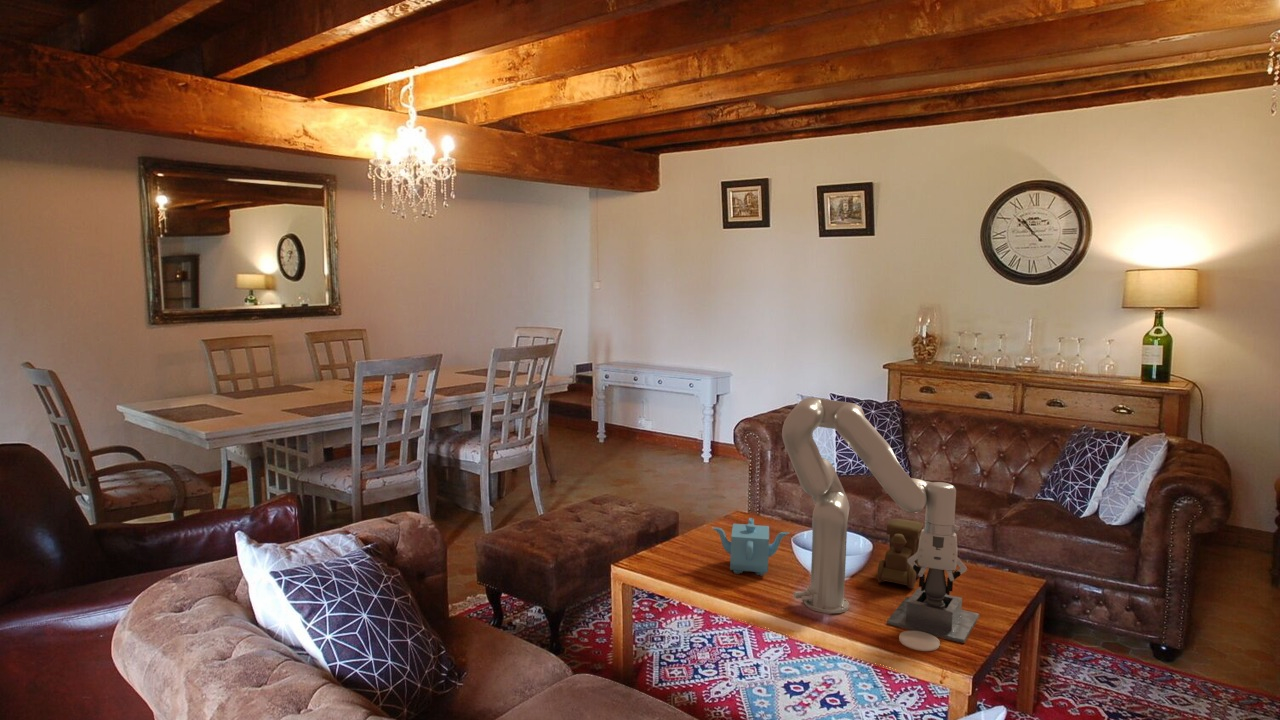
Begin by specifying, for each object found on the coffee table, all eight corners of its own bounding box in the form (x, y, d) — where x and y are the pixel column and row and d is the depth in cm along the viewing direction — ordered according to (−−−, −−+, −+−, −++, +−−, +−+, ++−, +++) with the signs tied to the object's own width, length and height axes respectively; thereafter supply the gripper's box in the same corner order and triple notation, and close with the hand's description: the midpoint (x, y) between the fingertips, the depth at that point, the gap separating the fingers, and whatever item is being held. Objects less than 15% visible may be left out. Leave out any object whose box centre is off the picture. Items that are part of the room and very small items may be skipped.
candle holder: (930, 626, 215) (936, 537, 212) (917, 616, 221) (922, 530, 218) (950, 624, 217) (955, 535, 214) (936, 614, 222) (941, 528, 220)
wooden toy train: (887, 565, 260) (890, 516, 259) (923, 572, 255) (926, 522, 253) (874, 586, 243) (877, 533, 241) (912, 593, 237) (915, 540, 236)
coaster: (910, 652, 200) (910, 649, 200) (892, 634, 209) (892, 631, 209) (947, 650, 201) (947, 647, 201) (927, 632, 211) (927, 629, 211)
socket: (964, 643, 205) (965, 621, 204) (886, 623, 216) (887, 602, 215) (978, 617, 221) (980, 596, 221) (906, 600, 232) (907, 580, 232)
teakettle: (748, 584, 242) (750, 537, 241) (708, 565, 257) (709, 521, 256) (790, 571, 254) (792, 527, 252) (749, 554, 268) (751, 512, 267)
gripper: (972, 528, 216) (968, 591, 218) (906, 520, 223) (903, 581, 224) (973, 536, 209) (969, 601, 211) (905, 527, 216) (901, 591, 217)
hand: (935, 590), depth 218 cm, fingers closed on candle holder, 6 cm apart
